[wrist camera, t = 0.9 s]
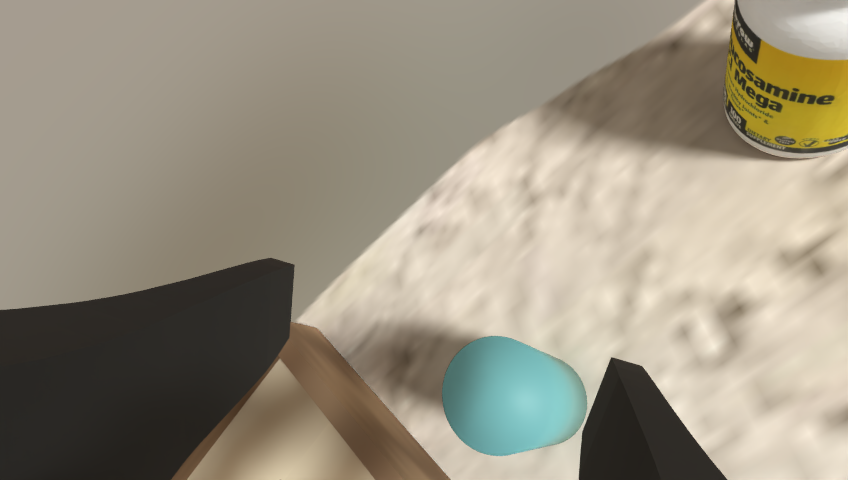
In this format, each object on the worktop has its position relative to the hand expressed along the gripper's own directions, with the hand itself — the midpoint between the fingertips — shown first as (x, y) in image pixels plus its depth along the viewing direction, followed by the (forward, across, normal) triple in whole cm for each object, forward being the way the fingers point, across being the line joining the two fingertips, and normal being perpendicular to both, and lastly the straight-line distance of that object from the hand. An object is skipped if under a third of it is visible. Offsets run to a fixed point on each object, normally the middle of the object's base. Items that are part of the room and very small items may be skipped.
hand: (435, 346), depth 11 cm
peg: (+11, -4, +9) cm, 15 cm away
